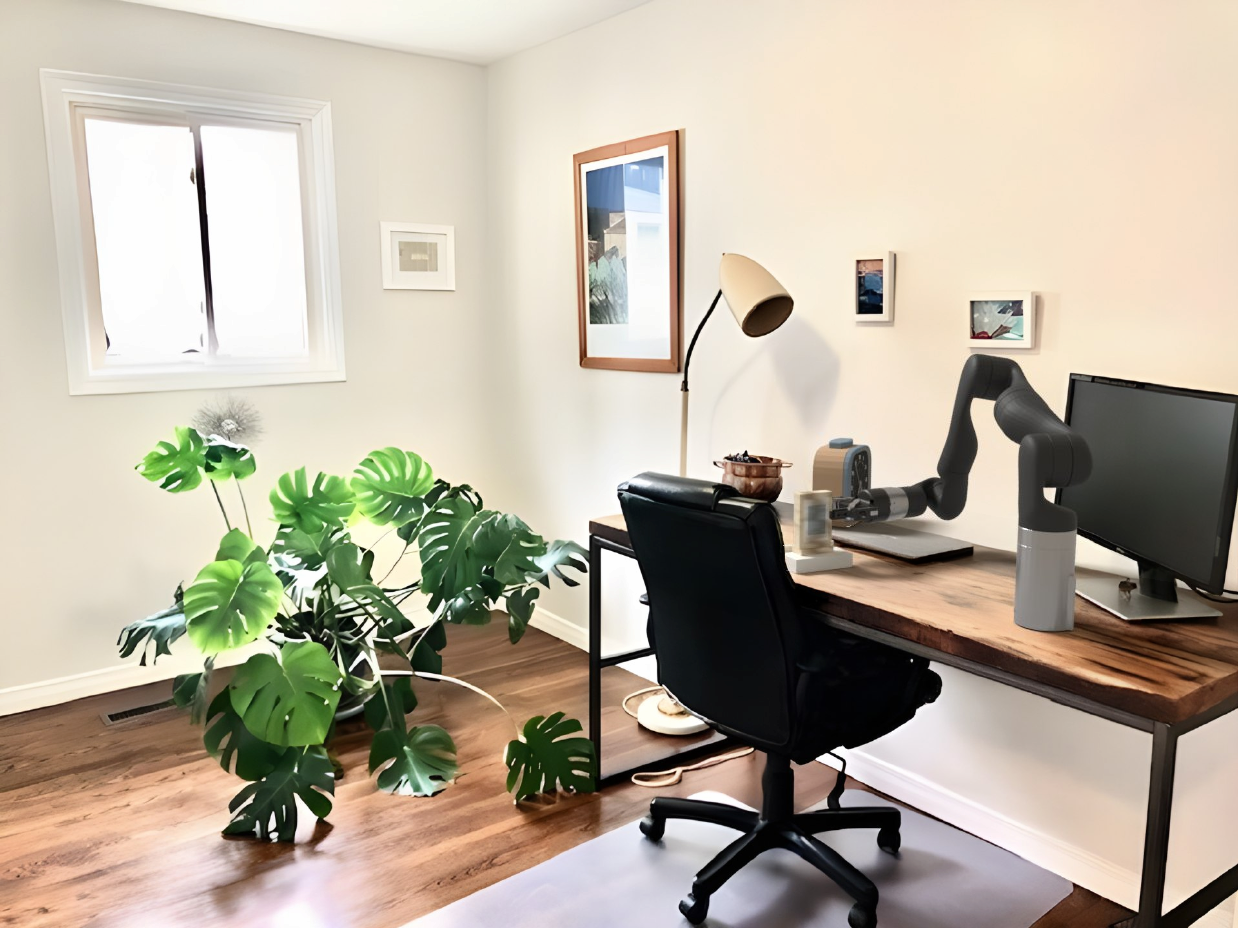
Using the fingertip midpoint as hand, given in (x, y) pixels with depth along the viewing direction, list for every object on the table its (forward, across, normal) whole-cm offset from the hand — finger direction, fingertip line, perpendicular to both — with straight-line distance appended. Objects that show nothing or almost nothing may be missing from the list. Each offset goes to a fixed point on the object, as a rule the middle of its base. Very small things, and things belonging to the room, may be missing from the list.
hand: (819, 511), depth 206 cm
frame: (+1, -1, +9) cm, 9 cm away
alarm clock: (-30, -35, +12) cm, 48 cm away
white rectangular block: (+1, 0, +12) cm, 12 cm away
